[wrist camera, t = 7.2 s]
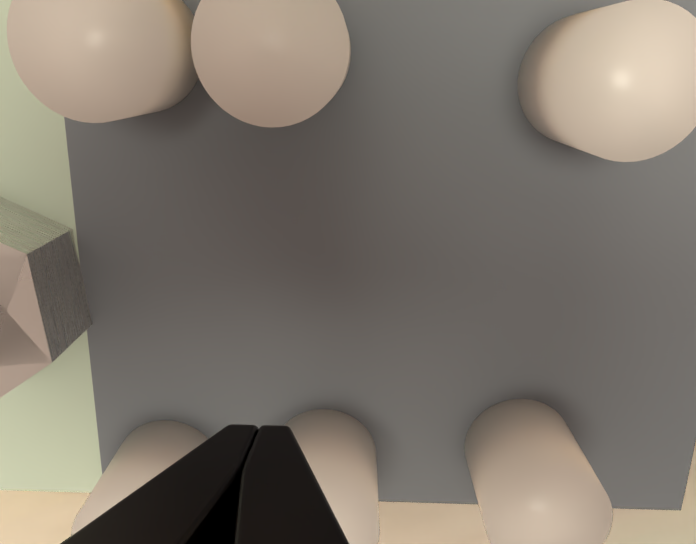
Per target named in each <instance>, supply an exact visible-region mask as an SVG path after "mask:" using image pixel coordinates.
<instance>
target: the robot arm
mask: <svg viewBox="0 0 696 544" xmlns="http://www.w3.org/2000/svg"><path fill="white" fill-rule="evenodd" d="M61 544H349V542H348V540H347V538H346V536H345V534H344V532H343V530H342V528H341V527H340V525H339V523H338V521H337V519H336V517H335V515H334V513H333V511H332V509H331V507H330V505H329V503H328V501H327V499H326V497H325V495H324V493H323V491H322V489H321V487H320V485H319V483H318V481H317V479H316V477H315V475H314V473H313V471H312V469H311V467H310V465H309V463H308V461H307V460H306V458H305V456H304V454H303V452H302V450H301V448H300V446H299V444H298V442H297V440H296V438H295V436H294V434H293V432H292V430H291V428H290V427H288V426H283V425H262V426H261V427H260V428H259V429H258V427H257V426H256V425H246V424H230V425H228V426H226V427H224V428H223V429H222V430H220V431H219V432H217V433H216V434H214V435H213V436H212V437H210V438H209V439H207V440H206V441H205V442H203V443H202V444H200V445H199V446H198V447H196V448H195V449H193V450H192V451H190V452H189V453H188V454H186V455H185V456H183V457H182V458H181V459H179V460H178V461H176V462H175V463H174V464H172V465H171V466H169V467H168V468H166V469H165V470H164V471H162V472H161V473H159V474H158V475H157V476H155V477H154V478H152V479H151V480H150V481H148V482H147V483H145V484H144V485H142V486H141V487H140V488H138V489H137V490H135V491H134V492H133V493H131V494H130V495H128V496H127V497H126V498H124V499H123V500H121V501H120V502H118V503H117V504H116V505H114V506H113V507H111V508H110V509H109V510H107V511H106V512H104V513H103V514H102V515H100V516H99V517H97V518H96V519H94V520H93V521H92V522H90V523H89V524H87V525H86V526H85V527H83V528H82V529H80V530H79V531H78V532H76V533H75V534H73V535H72V536H70V537H69V538H68V539H66V540H65V541H63V542H62V543H61Z"/></svg>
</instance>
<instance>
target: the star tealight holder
mask: <svg viewBox="0 0 696 544" xmlns="http://www.w3.org/2000/svg"><path fill="white" fill-rule="evenodd" d="M91 325H92V321H91V316H90V311H89V306H88V301H87V297H86V292H85V287H84V282H83V277H82V273H81V268H80V263H79V258H78V253H77V249H76V244H75V239H74V234H73V229H71V228H69V227H67V226H65V225H63V224H60V223H58V222H56V221H54V220H51V219H49V218H47V217H45V216H42V215H40V214H38V213H36V212H34V211H31V210H29V209H27V208H25V207H22V206H20V205H18V204H16V203H13V202H11V201H9V200H7V199H5V198H2V197H0V398H1V397H2V396H4V395H5V394H7V393H8V392H10V391H11V390H13V389H14V388H16V387H17V386H18V385H20V384H21V383H23V382H24V381H26V380H27V379H29V378H30V377H32V376H33V375H35V374H36V373H37V372H39V371H40V370H42V369H43V368H45V367H46V366H48V365H49V364H51V363H52V362H53V361H54V360H55V359H56V358H57V357H58V356H59V355H61V354H62V353H63V352H64V351H65V350H66V349H67V348H68V347H69V346H70V345H71V344H72V343H73V342H74V341H75V340H76V339H77V338H78V337H79V336H80V335H81V334H83V333H84V332H85V331H86V330H87V329H88V328H89V327H90V326H91Z"/></svg>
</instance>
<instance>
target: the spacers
mask: <svg viewBox="0 0 696 544" xmlns="http://www.w3.org/2000/svg"><path fill="white" fill-rule="evenodd" d="M7 41H8V47H9V52H10V55H11V58H12V61H13V64H14V66H15V68H16V71H17V73H18V74H19V76H20V78H21V79H22V81H23V83H24V84H25V85H26V87H27V88H28V89H29V91H30V92H31V93H32V94H33V95H34V96H35V97H36V98H37V99H38V100H39V101H40V102H42V103H43V104H44V105H45V106H46V107H48V108H50V109H51V110H53V111H54V112H56V113H58V114H60V115H62V116H64V117H67V118H69V119H72V120H76V121H80V122H86V123H105V122H110V121H115V120H120V119H125V118H130V117H134V116H139V115H144V114H149V113H154V112H158V111H162V110H165V109H168V108H170V107H172V106H174V105H176V104H177V103H179V102H180V101H182V100H183V99H184V98H185V97H186V96H187V95H188V94H189V92H190V91H191V90H192V89H193V87H194V85H195V84H196V82H197V80H198V77H199V79H200V81H201V83H202V85H203V87H204V88H205V90H206V91H207V93H208V94H209V96H210V97H211V98H212V99H213V100H214V101H215V102H216V104H218V105H219V106H220V107H221V108H222V109H223V110H224V111H226V112H227V113H229V114H230V115H231V116H233V117H235V118H237V119H239V120H241V121H243V122H246V123H249V124H251V125H256V126H260V127H270V128H272V127H284V126H290V125H293V124H296V123H299V122H302V121H304V120H306V119H308V118H310V117H311V116H313V115H314V114H316V113H317V112H318V111H320V110H321V109H322V108H323V107H324V106H325V105H326V104H327V103H328V102H329V101H330V100H331V99H332V98H333V97H334V96H335V94H336V93H337V92H338V90H339V89H340V88H341V86H342V84H343V82H344V80H345V78H346V75H347V72H348V69H349V65H350V57H351V44H350V38H349V33H348V30H347V26H346V23H345V20H344V16H343V14H342V12H341V9H340V7H339V5H338V3H337V2H336V0H201V1H200V3H199V5H198V8H197V10H196V12H195V16H194V15H193V14H192V12H191V11H190V9H189V8H188V7H187V5H186V4H185V3H184V2H183V1H182V0H12V2H11V5H10V8H9V12H8V18H7ZM518 96H519V101H520V105H521V107H522V110H523V112H524V114H525V116H526V118H527V119H528V121H529V122H530V123H531V125H532V126H533V127H534V128H535V129H536V130H537V131H538V132H540V133H541V134H542V135H544V136H546V137H547V138H549V139H551V140H554V141H557V142H559V143H562V144H565V145H568V146H570V147H573V148H576V149H579V150H581V151H584V152H587V153H590V154H592V155H595V156H598V157H601V158H603V159H607V160H611V161H618V162H635V161H641V160H646V159H649V158H653V157H655V156H658V155H660V154H662V153H664V152H666V151H668V150H670V149H671V148H673V147H674V146H676V145H677V144H678V143H680V142H681V141H682V140H683V139H685V138H686V137H687V136H688V135H689V134H690V133H691V132H692V130H693V129H694V128H695V127H696V17H694V16H693V15H692V14H691V13H690V12H688V11H687V10H685V9H684V8H682V7H680V6H679V5H676V4H674V3H671V2H669V1H664V0H629V1H625V2H621V3H617V4H613V5H609V6H605V7H601V8H597V9H593V10H589V11H586V12H582V13H578V14H574V15H571V16H567V17H564V18H562V19H560V20H558V21H556V22H554V23H553V24H551V25H550V26H548V27H547V28H546V29H545V30H543V31H542V32H541V33H540V34H539V35H538V36H537V37H536V38H535V40H534V41H533V42H532V44H531V45H530V46H529V48H528V50H527V52H526V53H525V56H524V58H523V60H522V63H521V66H520V70H519V76H518ZM284 426H288V427H290V428H291V430H292V432H293V434H294V436H295V438H296V440H297V442H298V444H299V446H300V448H301V450H302V452H303V454H304V456H305V458H306V460H307V461H308V463H309V465H310V467H311V469H312V471H313V473H314V475H315V477H316V479H317V481H318V483H319V485H320V487H321V489H322V491H323V493H324V495H325V497H326V499H327V501H328V503H329V505H330V507H331V509H332V511H333V513H334V515H335V517H336V519H337V521H338V523H339V525H340V527H341V528H342V530H343V532H344V534H345V536H346V538H347V540H348V542H349V544H378V542H379V535H380V526H379V504H378V481H377V459H376V448H375V444H374V441H373V438H372V436H371V435H370V433H369V432H368V430H367V429H366V428H365V427H364V426H363V424H361V423H360V422H359V421H358V420H356V419H355V418H353V417H352V416H350V415H348V414H345V413H343V412H340V411H335V410H328V409H317V410H311V411H307V412H304V413H301V414H299V415H297V416H295V417H293V418H292V419H291V420H289V421H288V422H287V423H286V424H285V425H284ZM207 439H208V438H207V437H206V436H205V435H204V434H202V433H201V432H200V431H198V430H197V429H195V428H193V427H191V426H189V425H187V424H184V423H181V422H176V421H168V420H161V421H153V422H149V423H146V424H144V425H141V426H139V427H138V428H136V429H135V430H133V431H132V432H131V433H130V434H129V435H128V436H127V437H126V438H125V440H124V441H123V443H122V444H121V446H120V448H119V449H118V451H117V452H116V454H115V455H114V457H113V459H112V460H111V462H110V463H109V465H108V467H107V468H106V470H105V471H104V473H103V474H102V476H101V478H100V479H99V481H98V482H97V484H96V485H95V487H94V489H93V490H92V492H91V493H90V495H89V497H88V498H87V500H86V501H85V503H84V504H83V506H82V508H81V509H80V511H79V512H78V514H77V515H76V518H75V520H74V522H73V526H72V531H71V536H72V535H73V534H75V533H76V532H78V531H79V530H80V529H82V528H83V527H85V526H86V525H87V524H89V523H90V522H92V521H93V520H94V519H96V518H97V517H99V516H100V515H102V514H103V513H104V512H106V511H107V510H109V509H110V508H111V507H113V506H114V505H116V504H117V503H118V502H120V501H121V500H123V499H124V498H126V497H127V496H128V495H130V494H131V493H133V492H134V491H135V490H137V489H138V488H140V487H141V486H142V485H144V484H145V483H147V482H148V481H150V480H151V479H152V478H154V477H155V476H157V475H158V474H159V473H161V472H162V471H164V470H165V469H166V468H168V467H169V466H171V465H172V464H174V463H175V462H176V461H178V460H179V459H181V458H182V457H183V456H185V455H186V454H188V453H189V452H190V451H192V450H193V449H195V448H196V447H198V446H199V445H200V444H202V443H203V442H205V441H206V440H207ZM465 457H466V460H467V464H468V468H469V471H470V475H471V479H472V482H473V486H474V490H475V493H476V497H477V500H478V504H479V508H480V511H481V515H482V519H483V522H484V526H485V530H486V533H487V536H488V540H489V542H490V544H603V543H604V542H605V540H606V538H607V537H608V534H609V532H610V530H611V526H612V520H613V510H612V505H611V501H610V499H609V496H608V495H607V493H606V491H605V489H604V488H603V486H602V484H601V483H600V481H599V479H598V477H597V476H596V474H595V472H594V471H593V469H592V467H591V465H590V464H589V462H588V460H587V459H586V457H585V455H584V453H583V452H582V450H581V448H580V447H579V445H578V443H577V442H576V440H575V438H574V436H573V435H572V433H571V431H570V430H569V428H568V426H567V424H566V423H565V421H564V419H563V418H562V417H561V416H560V414H559V413H557V412H556V411H555V410H554V409H553V408H551V407H550V406H548V405H546V404H544V403H541V402H538V401H535V400H530V399H513V400H507V401H503V402H500V403H498V404H495V405H493V406H491V407H490V408H488V409H487V410H485V411H484V412H482V413H481V414H480V415H479V416H478V417H477V418H476V419H475V421H474V422H473V423H472V425H471V426H470V428H469V430H468V432H467V436H466V439H465Z"/></svg>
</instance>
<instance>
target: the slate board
mask: <svg viewBox="0 0 696 544" xmlns="http://www.w3.org/2000/svg"><path fill="white" fill-rule="evenodd" d="M182 1H183V2H184V3H185V4H186V5H187V7H188V8H189V9H190V11H191V12H192V14H193V15H194V16H195V12H196V10H197V8H198V5H199V3H200V1H201V0H182ZM625 1H629V0H336V2H337V3H338V5H339V7H340V9H341V12H342V14H343V16H344V20H345V23H346V26H347V30H348V33H349V38H350V44H351V57H350V65H349V69H348V72H347V75H346V78H345V80H344V82H343V84H342V86H341V88H340V89H339V90H338V92H337V93H336V94H335V96H334V97H333V98H332V99H331V100H330V101H329V102H328V103H327V104H326V105H325V106H324V107H323V108H322V109H321V110H320V111H318V112H317V113H316V114H314V115H313V116H311V117H310V118H308V119H306V120H304V121H302V122H299V123H296V124H293V125H290V126H284V127H272V128H270V127H260V126H256V125H251V124H249V123H246V122H243V121H241V120H239V119H237V118H235V117H233V116H231V115H230V114H229V113H227V112H226V111H224V110H223V109H222V108H221V107H220V106H219V105H218V104H216V102H215V101H214V100H213V99H212V98H211V97H210V96H209V94H208V93H207V91H206V90H205V88H204V87H203V85H202V83H201V81H200V79H199V77H198V80H197V82H196V84H195V85H194V87H193V89H192V90H191V91H190V92H189V94H188V95H187V96H186V97H185V98H184V99H183V100H182V101H180V102H179V103H177V104H176V105H174V106H172V107H170V108H168V109H165V110H162V111H158V112H154V113H149V114H144V115H139V116H134V117H130V118H125V119H120V120H115V121H110V122H105V123H86V122H80V121H76V120H72V119H69V118H67V117H64V116H62V115H60V114H58V113H56V112H54V111H53V110H51V109H50V108H48V107H46V106H45V105H44V104H43V103H42V102H40V101H39V100H38V99H37V98H36V97H35V96H34V95H33V94H32V93H31V92H30V91H29V89H28V88H27V87H26V85H25V84H24V83H23V81H22V79H21V78H20V76H19V74H18V73H17V71H16V68H15V66H14V64H13V61H12V58H11V55H10V52H9V47H8V41H7V18H8V12H9V8H10V5H11V2H12V0H0V197H2V198H5V199H7V200H9V201H11V202H13V203H16V204H18V205H20V206H22V207H25V208H27V209H29V210H31V211H34V212H36V213H38V214H40V215H42V216H45V217H47V218H49V219H51V220H54V221H56V222H58V223H60V224H63V225H65V226H67V227H69V228H71V229H73V234H74V239H75V244H76V249H77V253H78V258H79V263H80V268H81V273H82V277H83V282H84V287H85V292H86V297H87V301H88V306H89V311H90V316H91V321H92V325H91V326H90V327H89V328H88V329H87V330H86V331H85V332H84V333H83V334H81V335H80V336H79V337H78V338H77V339H76V340H75V341H74V342H73V343H72V344H71V345H70V346H69V347H68V348H67V349H66V350H65V351H64V352H63V353H62V354H61V355H59V356H58V357H57V358H56V359H55V360H54V361H53V362H52V363H51V364H49V365H48V366H46V367H45V368H43V369H42V370H40V371H39V372H37V373H36V374H35V375H33V376H32V377H30V378H29V379H27V380H26V381H24V382H23V383H21V384H20V385H18V386H17V387H16V388H14V389H13V390H11V391H10V392H8V393H7V394H5V395H4V396H2V397H1V398H0V490H17V491H50V492H84V493H91V492H92V490H93V489H94V487H95V485H96V484H97V482H98V481H99V479H100V478H101V476H102V474H103V473H104V471H105V470H106V468H107V467H108V465H109V463H110V462H111V460H112V459H113V457H114V455H115V454H116V452H117V451H118V449H119V448H120V446H121V444H122V443H123V441H124V440H125V438H126V437H127V436H128V435H129V434H130V433H131V432H132V431H133V430H135V429H136V428H138V427H139V426H141V425H144V424H146V423H149V422H153V421H161V420H168V421H176V422H181V423H184V424H187V425H189V426H191V427H193V428H195V429H197V430H198V431H200V432H201V433H202V434H204V435H205V436H206V437H207V438H208V439H209V438H210V437H212V436H213V435H214V434H216V433H217V432H219V431H220V430H222V429H223V428H224V427H226V426H228V425H230V424H246V425H256V426H257V427H258V429H259V428H260V427H261V426H262V425H283V426H284V425H285V424H286V423H287V422H288V421H289V420H291V419H292V418H293V417H295V416H297V415H299V414H301V413H304V412H307V411H311V410H317V409H328V410H335V411H340V412H343V413H345V414H348V415H350V416H352V417H353V418H355V419H356V420H358V421H359V422H360V423H361V424H363V426H364V427H365V428H366V429H367V430H368V432H369V433H370V435H371V436H372V438H373V441H374V444H375V448H376V459H377V481H378V501H386V502H419V503H453V504H478V500H477V497H476V493H475V490H474V486H473V482H472V479H471V475H470V471H469V468H468V464H467V460H466V457H465V439H466V436H467V432H468V430H469V428H470V426H471V425H472V423H473V422H474V421H475V419H476V418H477V417H478V416H479V415H480V414H481V413H482V412H484V411H485V410H487V409H488V408H490V407H491V406H493V405H495V404H498V403H500V402H503V401H507V400H513V399H530V400H535V401H538V402H541V403H544V404H546V405H548V406H550V407H551V408H553V409H554V410H555V411H556V412H557V413H559V414H560V416H561V417H562V418H563V419H564V421H565V423H566V424H567V426H568V428H569V430H570V431H571V433H572V435H573V436H574V438H575V440H576V442H577V443H578V445H579V447H580V448H581V450H582V452H583V453H584V455H585V457H586V459H587V460H588V462H589V464H590V465H591V467H592V469H593V471H594V472H595V474H596V476H597V477H598V479H599V481H600V483H601V484H602V486H603V488H604V489H605V491H606V493H607V495H608V496H609V499H610V501H611V505H612V508H621V509H654V510H681V508H682V503H683V498H684V493H685V489H686V484H687V479H688V474H689V470H690V465H691V460H692V455H693V451H694V446H695V441H696V127H695V128H694V129H693V130H692V132H691V133H690V134H689V135H688V136H687V137H686V138H685V139H683V140H682V141H681V142H680V143H678V144H677V145H676V146H674V147H673V148H671V149H670V150H668V151H666V152H664V153H662V154H660V155H658V156H655V157H653V158H649V159H646V160H641V161H635V162H618V161H611V160H607V159H603V158H601V157H598V156H595V155H592V154H590V153H587V152H584V151H581V150H579V149H576V148H573V147H570V146H568V145H565V144H562V143H559V142H557V141H554V140H551V139H549V138H547V137H546V136H544V135H542V134H541V133H540V132H538V131H537V130H536V129H535V128H534V127H533V126H532V125H531V123H530V122H529V121H528V119H527V118H526V116H525V114H524V112H523V110H522V107H521V105H520V101H519V96H518V76H519V70H520V66H521V63H522V60H523V58H524V56H525V53H526V52H527V50H528V48H529V46H530V45H531V44H532V42H533V41H534V40H535V38H536V37H537V36H538V35H539V34H540V33H541V32H542V31H543V30H545V29H546V28H547V27H548V26H550V25H551V24H553V23H554V22H556V21H558V20H560V19H562V18H564V17H567V16H571V15H574V14H578V13H582V12H586V11H589V10H593V9H597V8H601V7H605V6H609V5H613V4H617V3H621V2H625ZM664 1H669V2H671V3H674V4H676V5H679V6H680V7H682V8H684V9H685V10H687V11H688V12H690V13H691V14H692V15H693V16H694V17H696V0H664Z"/></svg>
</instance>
